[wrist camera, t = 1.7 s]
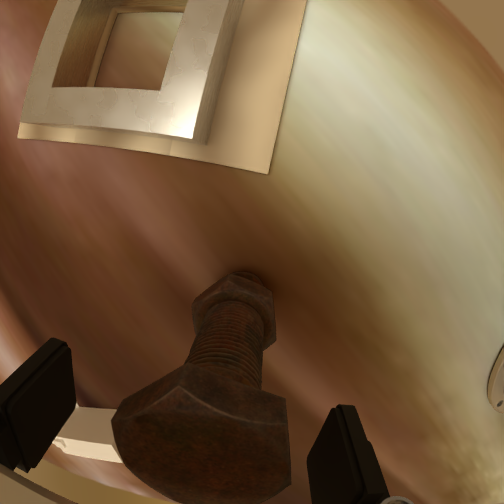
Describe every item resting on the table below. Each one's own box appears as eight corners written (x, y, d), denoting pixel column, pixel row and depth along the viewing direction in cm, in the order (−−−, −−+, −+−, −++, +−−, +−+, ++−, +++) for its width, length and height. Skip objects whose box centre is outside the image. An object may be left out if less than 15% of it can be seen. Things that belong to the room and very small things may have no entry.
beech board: (308, -7, 17) (309, -14, 16) (267, 174, 20) (267, 174, 19) (71, -10, 17) (65, -15, 16) (24, 138, 20) (17, 138, 19)
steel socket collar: (248, -14, 16) (244, -46, 12) (206, 145, 19) (191, 138, 15) (98, -12, 16) (74, -34, 12) (53, 127, 19) (19, 122, 15)
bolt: (199, 253, 22) (86, 389, 7) (274, 246, 21) (283, 391, 7) (212, 331, 23) (150, 508, 8) (282, 326, 23) (293, 513, 8)
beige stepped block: (164, 409, 26) (146, 453, 20) (134, 465, 28) (118, 501, 23) (30, 325, 25) (-6, 352, 19) (23, 396, 27) (-2, 423, 22)
